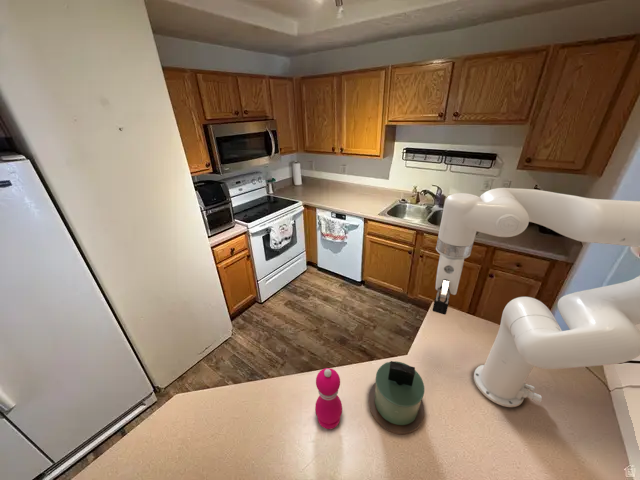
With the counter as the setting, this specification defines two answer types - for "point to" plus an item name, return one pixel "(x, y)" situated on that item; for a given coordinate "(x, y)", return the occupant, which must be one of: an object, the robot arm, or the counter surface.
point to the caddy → (398, 392)
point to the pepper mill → (328, 398)
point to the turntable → (390, 426)
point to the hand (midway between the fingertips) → (441, 300)
